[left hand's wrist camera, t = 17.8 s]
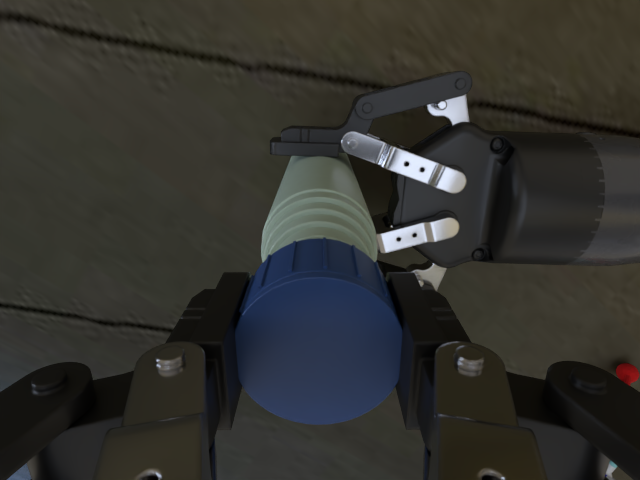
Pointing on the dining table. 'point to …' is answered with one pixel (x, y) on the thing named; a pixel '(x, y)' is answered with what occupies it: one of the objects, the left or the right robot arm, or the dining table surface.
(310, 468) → the dining table surface
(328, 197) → the bottle
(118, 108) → the dining table surface
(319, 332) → the cap
